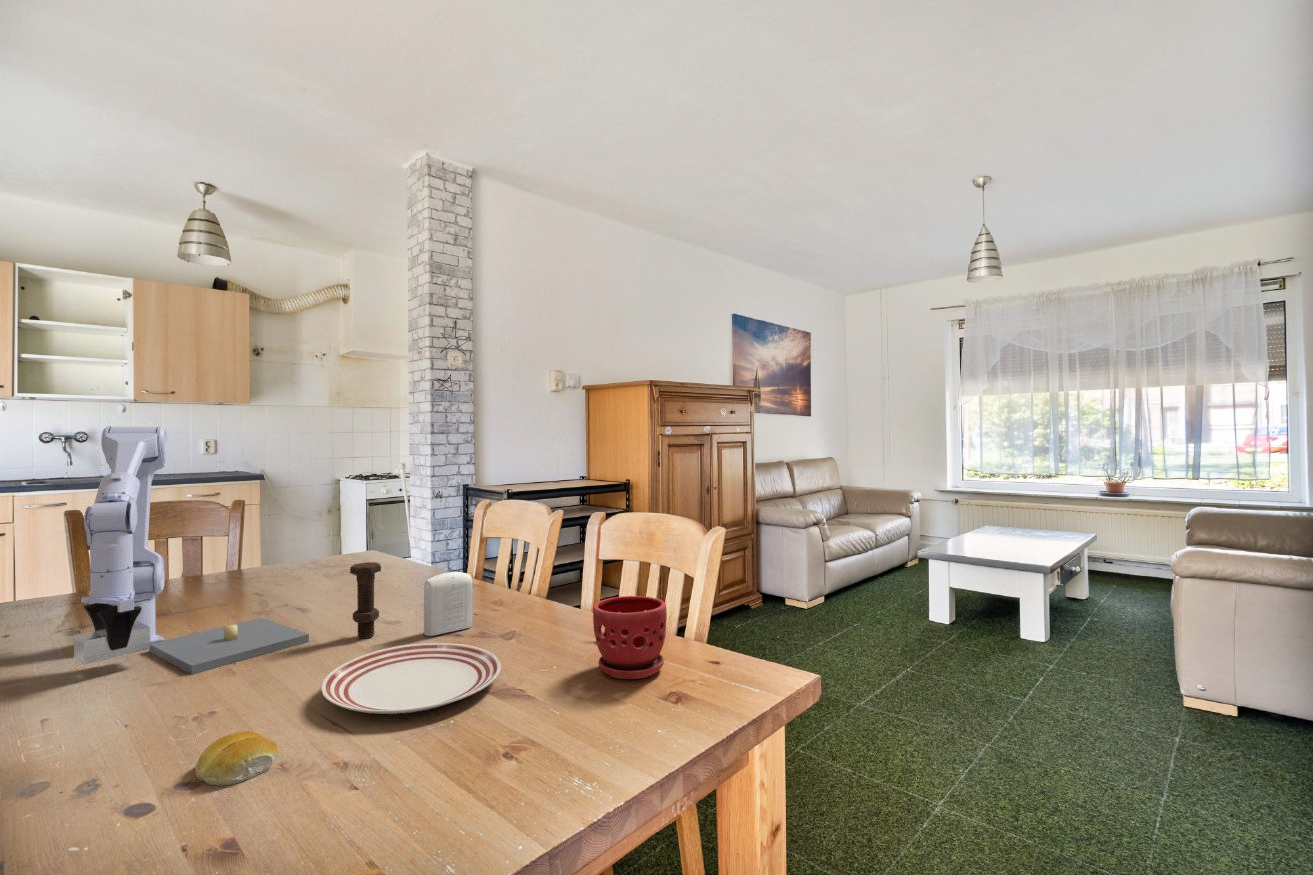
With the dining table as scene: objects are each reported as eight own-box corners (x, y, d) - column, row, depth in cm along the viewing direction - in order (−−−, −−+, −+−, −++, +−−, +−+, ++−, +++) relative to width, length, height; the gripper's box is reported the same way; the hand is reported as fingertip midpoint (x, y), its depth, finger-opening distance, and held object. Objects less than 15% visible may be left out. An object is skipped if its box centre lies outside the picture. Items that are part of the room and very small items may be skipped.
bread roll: (254, 745, 83) (254, 715, 83) (288, 764, 78) (288, 733, 78) (182, 773, 76) (181, 741, 76) (214, 796, 71) (214, 762, 71)
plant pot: (677, 662, 112) (677, 597, 112) (646, 690, 100) (646, 617, 100) (615, 652, 118) (615, 590, 118) (579, 676, 106) (578, 607, 106)
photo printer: (466, 623, 136) (466, 567, 135) (475, 627, 132) (475, 570, 132) (420, 633, 128) (420, 575, 128) (429, 638, 125) (428, 578, 125)
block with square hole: (74, 657, 107) (73, 635, 107) (138, 642, 114) (138, 621, 114) (84, 664, 104) (83, 641, 104) (150, 648, 111) (149, 626, 111)
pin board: (149, 651, 118) (149, 631, 118) (262, 624, 135) (261, 606, 135) (191, 674, 107) (191, 651, 107) (308, 641, 124) (308, 621, 124)
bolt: (367, 642, 123) (367, 568, 123) (345, 640, 124) (345, 567, 124) (385, 633, 129) (385, 562, 129) (364, 631, 130) (364, 561, 130)
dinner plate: (531, 669, 110) (531, 651, 110) (427, 743, 84) (427, 719, 84) (407, 651, 119) (407, 634, 118) (278, 713, 93) (278, 691, 93)
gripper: (69, 568, 109) (70, 643, 110) (95, 579, 101) (96, 660, 102) (119, 561, 115) (120, 632, 116) (148, 571, 107) (149, 647, 108)
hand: (112, 644), depth 109 cm, fingers closed on block with square hole, 6 cm apart
